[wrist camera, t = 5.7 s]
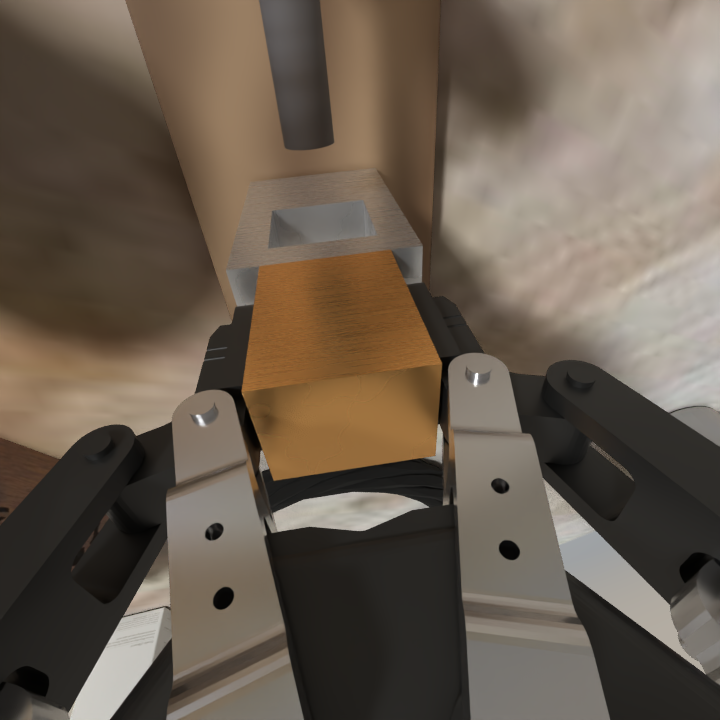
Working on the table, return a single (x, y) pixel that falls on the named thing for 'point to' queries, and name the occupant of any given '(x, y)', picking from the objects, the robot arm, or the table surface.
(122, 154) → the table surface
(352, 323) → the end link
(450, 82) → the table surface
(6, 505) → the tissue box cover
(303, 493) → the cable lock
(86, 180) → the table surface
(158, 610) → the supplement box
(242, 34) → the board
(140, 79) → the table surface
